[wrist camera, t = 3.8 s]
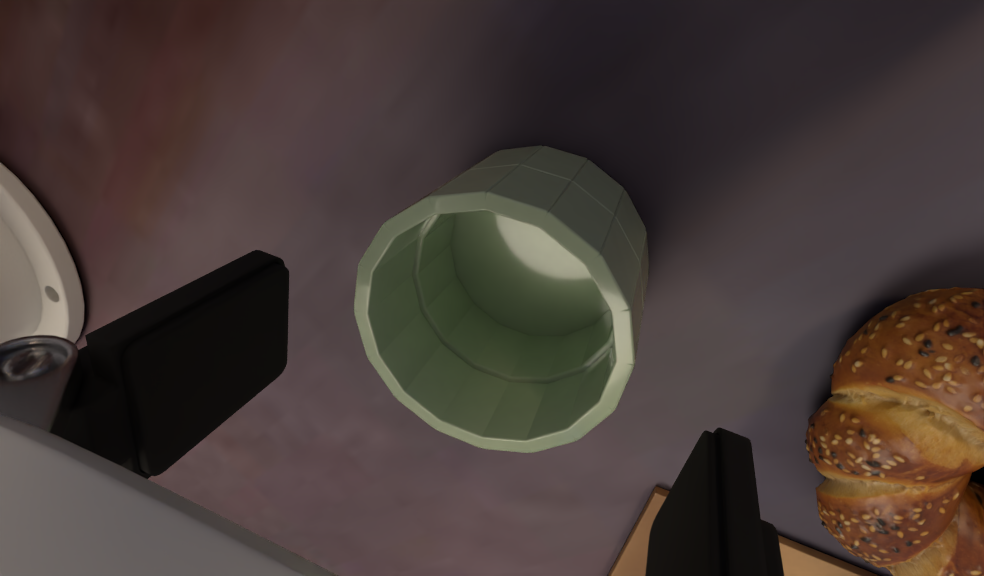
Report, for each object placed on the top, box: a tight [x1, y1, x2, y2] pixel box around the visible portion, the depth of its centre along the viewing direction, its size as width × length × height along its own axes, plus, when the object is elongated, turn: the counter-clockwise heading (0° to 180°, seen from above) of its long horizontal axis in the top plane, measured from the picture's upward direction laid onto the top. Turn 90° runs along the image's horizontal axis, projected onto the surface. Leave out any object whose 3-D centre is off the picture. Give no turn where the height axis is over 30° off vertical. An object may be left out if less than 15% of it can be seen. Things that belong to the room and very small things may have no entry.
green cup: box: [354, 145, 649, 453], centre depth 16 cm, size 7×7×6 cm
